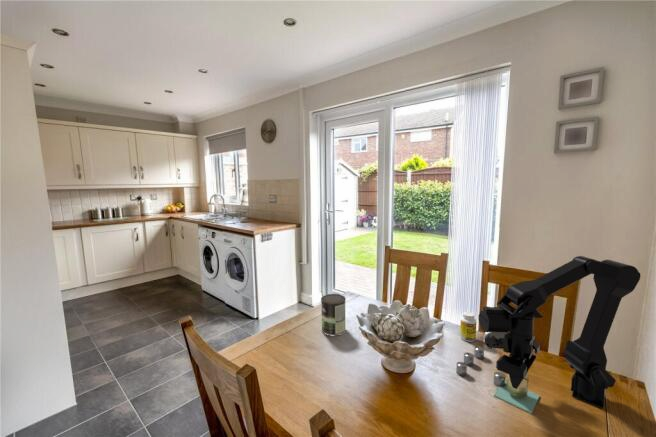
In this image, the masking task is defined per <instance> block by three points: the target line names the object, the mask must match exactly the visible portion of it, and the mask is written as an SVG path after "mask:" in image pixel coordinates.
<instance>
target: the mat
mask: <svg viewBox="0 0 656 437" xmlns="http://www.w3.org/2000/svg"><path fill="white" fill-rule="evenodd" d="M506 388H507V380H505V386H503V387H502V386H499V387H497V390H496V391H495V392H494V394H493V397H494V398H496V399H497V398H498V399H499V400H501V401H503V402H505V403H508V404H510V405H512V406H514V407H516V408H519V409H521V410H523V411H524V412H526V413H529V414H531V415H532V414H533V411H534V409H535V407H536V405H537V403H538V401H539V399H540V397H541V396H540V394H537V393H536V392H532V391H531V390H528V395H527V397H526V398H518V397H515V396H513V395H511V394H510V393H509V392H508V391H507V389H506Z"/></svg>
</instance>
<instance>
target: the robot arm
mask: <svg viewBox="0 0 656 437" xmlns="http://www.w3.org/2000/svg"><path fill="white" fill-rule="evenodd" d="M590 275H593V278H592V279H593V281H594V286H595V288H596V291H595V295H594V297H593V300H592V302H591V305H590V308H589V311H588V313H587V316H586V319H585V322H584V324H583V327H582V331H581V334H580V336H579V337H578V338H577V339H575V340H570V339H567V341H566V344H565V345H566V346H565V348H564V349H563V351H562V353H564V355H563V356H564V359H565V361H566V362H567V363H568V365H569V368H571V369H572V370H573V371H575V372H574V373H572V376H571V385H570V391H571V392H572V393H571V397H573V398H574V399H577V400H580V401H582V402H585V403H587V404H590V405H592V406H595V407H597V408H600V409H604V408H605V404H606V403H605V402H606V390H607V389H608V388H613V387H614V385H615V384H616V378H614V376H612V374H610V373H609V371H607V370H606V368H607V363H608V358H607V355H606V351H605V344H606V341H607V339H608V335H609V333H610V331H611V328H612V326H613V322H614V320H615V317H616V315H617V313H618V310H619V306H620V304H621V301H622V299H623V298H624V297H626V296H628V295H629V294H630V293H632V292H633V291H634V290H635V289H636V287H637V285H638V284H639V283H640V282H639V281H640V280H641V272H639V270H638V268H636V267H635V266H633V265H629V264H626V263H623V262H619V261H615V260H611V259H604V260H602V261H599V260H596V259H593V258H590V257H587V256H583V255H578V256H574V257H573V258H572V260H570V261H568V262H566V263H565V264H563V265H561V266H558V267H557V268H555V269H553V270H551V271H549V272H547V273H546V274H544V275H541V276H540V277H538V278H535V279H532V280H523V281H520V282H516V283H515V284H514V283H513V284H511V285H509V287H508V288H507V289H506V292H505V293H504V295H502V297H501V298H500V299H499V300H498V301H497V303H496V305H497V306H483V307H482V310H480V312H479V314H478V315H477V316H478V323H479V326H480V329H481V330H482V332H484V333H487V334H486V335H485V336H484V342H483V343H484V345H485V346H486V348H488V350H490V349H491V350H492V349H500V350H501V349H502V351H503V352H504V353H506V354H509V355H506V354H502V355H500V356H499V357H498V359H497V360H496V364H495V368H496V370H497V371H500V372H501V373H502V372H503V374H506V375H507V374H509V377H510V381H511V384H512V387H513V388H515V389H517V388H518V386H519V385H520V383H521V382H522V380H523V379H524V377H525V376H526V375H528V373H529V370H530V368H531V367H532V365H533V364H534V362H535V361H536V359H537V355H538V354H539V353H540V349H541V348H540V347H541V345H540V343H538V341H537V340H535V334H534V324H535V322H534V321H535V320H534V319H542V318H543V317H544V316H543V314H541V313H540V312H539V310H538V309H539V308H540V307H542V306H543V305H545V303H546V301H547V300H548V298H549V297H550V296H551V295H553V294H554V293H557V292H558V291H560V290H562V289H564V288H567V287H568V286H570V285H572V284H575V283H576V282H578V281H580V280H582V279H584V278H585V277H587V276H590ZM511 304H512V305H514V306H515V307H516V308H515V307H513V306H512V305H511ZM534 354H535V355H534Z"/></svg>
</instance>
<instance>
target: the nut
mask: <svg viewBox="0 0 656 437" xmlns="http://www.w3.org/2000/svg"><path fill="white" fill-rule="evenodd" d="M506 381H507V388H506V389H507V391H508V392H509V393H510V394H511V395H513V396H515V397H518V398H526V397H527V395H528V391H529V376H528V374H526V376H525V377H524V379H523V380H522V382H521V383H520V385H519V386H518V388H517V389H515V388H513V387H512V384H511V381H510V377H509V374H507V373H506Z"/></svg>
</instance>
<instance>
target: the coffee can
mask: <svg viewBox="0 0 656 437" xmlns="http://www.w3.org/2000/svg"><path fill="white" fill-rule="evenodd" d="M320 302H321V332H322V331H323V332H324V333H326V334H328V335H340V334H342V335H344V334H345V333H344V332H346V331H345V329H346V297H345V296H344V295H342V294H339V293H330V294H329V293H328V294H325V295H323V296H321V298H320ZM323 332H322V333H323ZM324 333H323V334H324ZM343 333H344V334H343ZM328 335H327V336H328ZM340 336H341V335H340Z"/></svg>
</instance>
